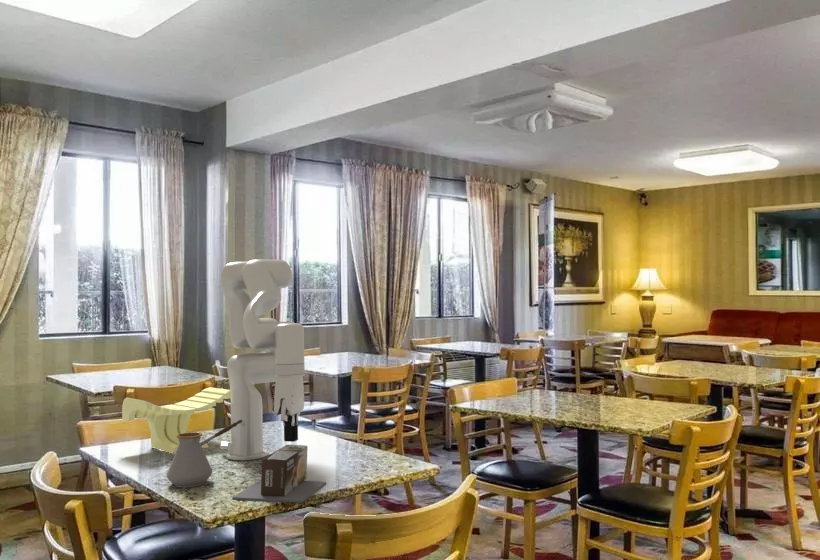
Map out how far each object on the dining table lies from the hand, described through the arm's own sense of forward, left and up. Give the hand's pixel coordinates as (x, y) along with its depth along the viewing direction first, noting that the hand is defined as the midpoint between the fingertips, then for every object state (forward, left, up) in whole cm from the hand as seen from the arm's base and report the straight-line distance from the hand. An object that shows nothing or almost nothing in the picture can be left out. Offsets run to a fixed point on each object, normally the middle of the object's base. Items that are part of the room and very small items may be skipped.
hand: (291, 440), depth 180 cm
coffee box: (0, +3, -6) cm, 7 cm away
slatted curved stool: (-55, +37, -12) cm, 67 cm away
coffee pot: (-24, 0, -12) cm, 27 cm away
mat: (0, -7, -11) cm, 13 cm away
